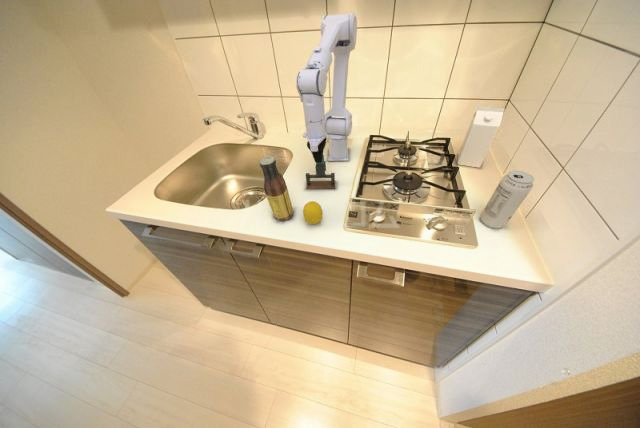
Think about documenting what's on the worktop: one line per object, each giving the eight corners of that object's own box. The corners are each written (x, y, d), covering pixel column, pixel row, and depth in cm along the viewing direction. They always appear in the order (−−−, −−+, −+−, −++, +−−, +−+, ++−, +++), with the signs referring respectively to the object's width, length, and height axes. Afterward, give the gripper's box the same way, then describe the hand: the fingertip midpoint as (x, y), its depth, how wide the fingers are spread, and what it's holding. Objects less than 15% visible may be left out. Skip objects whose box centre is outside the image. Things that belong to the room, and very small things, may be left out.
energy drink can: (507, 231, 59) (542, 185, 49) (481, 228, 61) (509, 182, 50) (501, 215, 63) (531, 170, 53) (477, 213, 65) (502, 168, 54)
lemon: (321, 230, 65) (319, 210, 59) (302, 228, 66) (299, 208, 60) (325, 217, 68) (323, 196, 63) (307, 215, 70) (304, 195, 64)
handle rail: (307, 182, 82) (306, 170, 78) (335, 182, 81) (335, 170, 77) (306, 189, 79) (304, 177, 76) (335, 189, 78) (334, 177, 74)
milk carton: (458, 155, 87) (478, 102, 74) (479, 158, 84) (504, 104, 71) (457, 164, 83) (478, 110, 69) (479, 168, 80) (506, 113, 67)
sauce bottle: (285, 205, 74) (271, 149, 60) (297, 214, 70) (286, 157, 56) (269, 216, 71) (250, 160, 57) (281, 226, 67) (264, 168, 53)
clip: (317, 170, 78) (315, 152, 73) (326, 169, 77) (325, 152, 73) (316, 176, 75) (314, 158, 71) (325, 176, 75) (324, 158, 70)
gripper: (304, 109, 69) (309, 150, 79) (296, 130, 59) (303, 173, 69) (327, 108, 69) (329, 149, 78) (323, 129, 58) (326, 173, 68)
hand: (318, 160), depth 73 cm, fingers closed on clip
